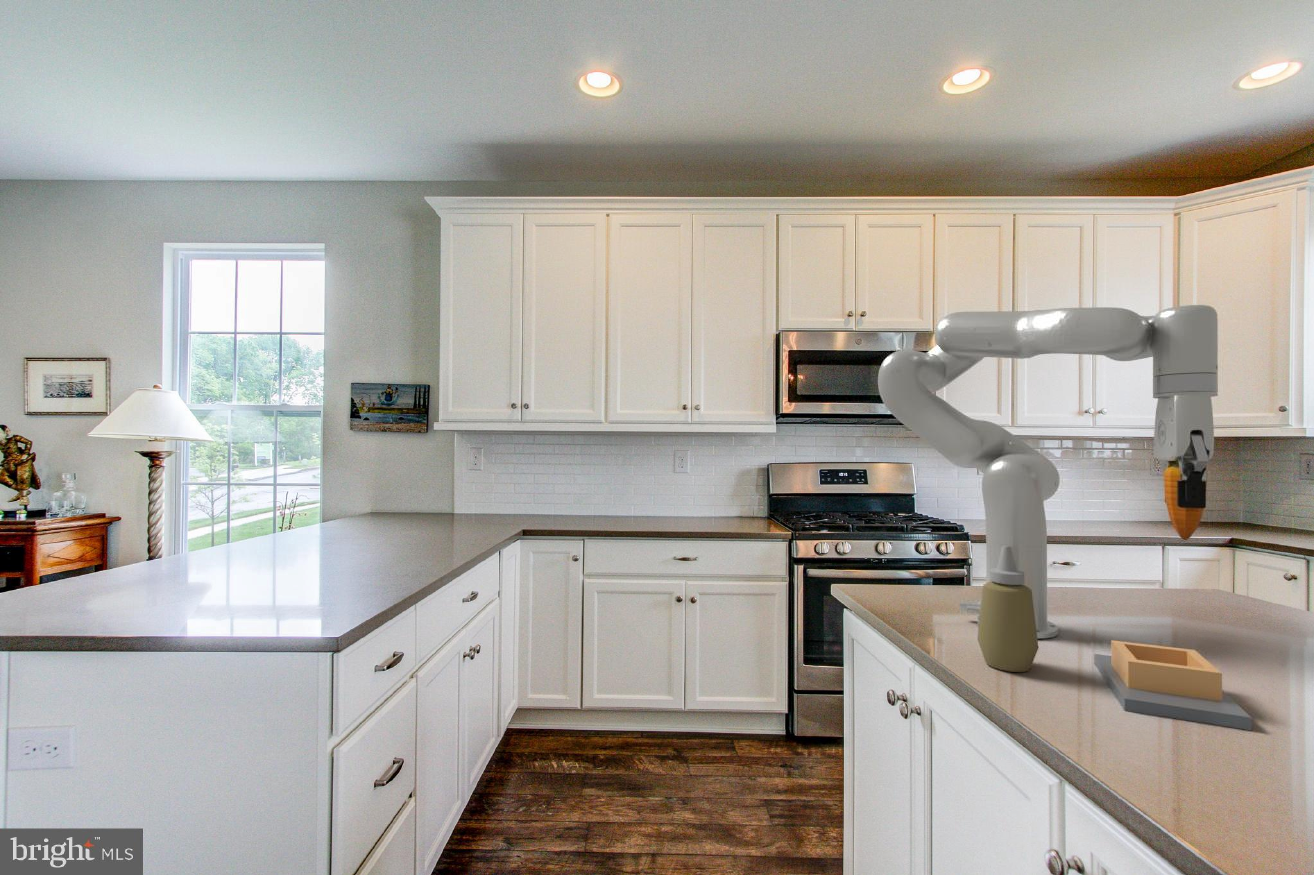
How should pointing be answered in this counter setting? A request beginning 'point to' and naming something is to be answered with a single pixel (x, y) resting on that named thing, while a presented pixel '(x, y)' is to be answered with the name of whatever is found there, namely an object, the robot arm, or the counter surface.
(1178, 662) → the socket block
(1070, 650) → the counter surface
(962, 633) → the counter surface
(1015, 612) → the squeeze bottle
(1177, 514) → the carrot
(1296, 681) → the counter surface
